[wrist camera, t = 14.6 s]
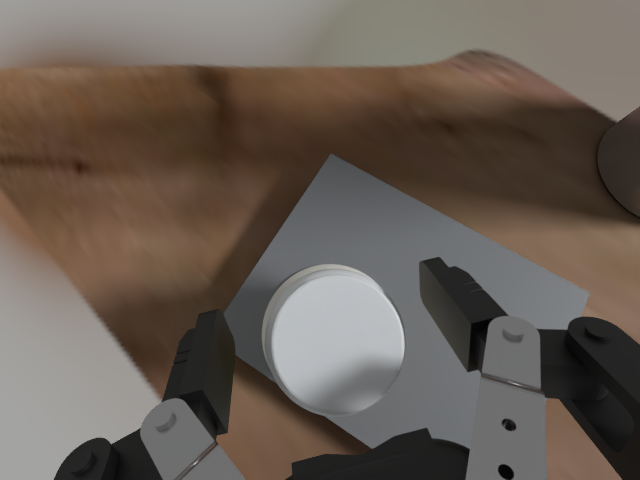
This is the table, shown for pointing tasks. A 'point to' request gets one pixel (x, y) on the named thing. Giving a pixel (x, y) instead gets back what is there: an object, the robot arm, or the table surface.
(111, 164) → the table surface
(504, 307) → the plinth
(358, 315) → the supplement bottle
